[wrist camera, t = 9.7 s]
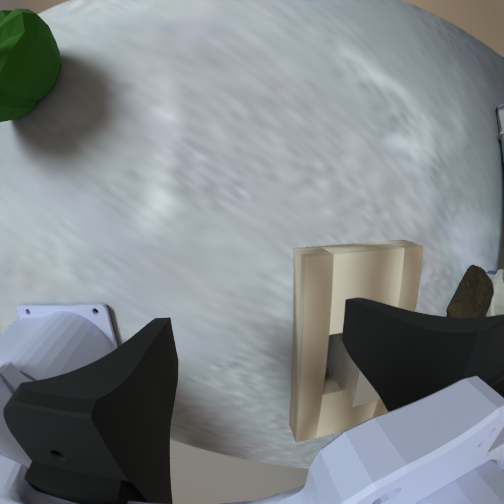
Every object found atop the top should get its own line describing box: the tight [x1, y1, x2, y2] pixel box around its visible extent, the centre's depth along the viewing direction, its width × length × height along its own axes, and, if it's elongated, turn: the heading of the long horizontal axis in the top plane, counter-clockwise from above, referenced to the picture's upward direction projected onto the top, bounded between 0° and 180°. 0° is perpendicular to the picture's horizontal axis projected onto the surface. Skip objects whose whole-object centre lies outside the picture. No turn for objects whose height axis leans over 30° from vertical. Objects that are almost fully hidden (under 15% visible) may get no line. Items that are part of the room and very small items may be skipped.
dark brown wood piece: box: [447, 265, 494, 318], centre depth 24 cm, size 19×4×5 cm, turn 160°
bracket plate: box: [290, 240, 423, 442], centre depth 22 cm, size 10×18×2 cm, turn 3°
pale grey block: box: [326, 333, 381, 407], centre depth 20 cm, size 4×4×6 cm
